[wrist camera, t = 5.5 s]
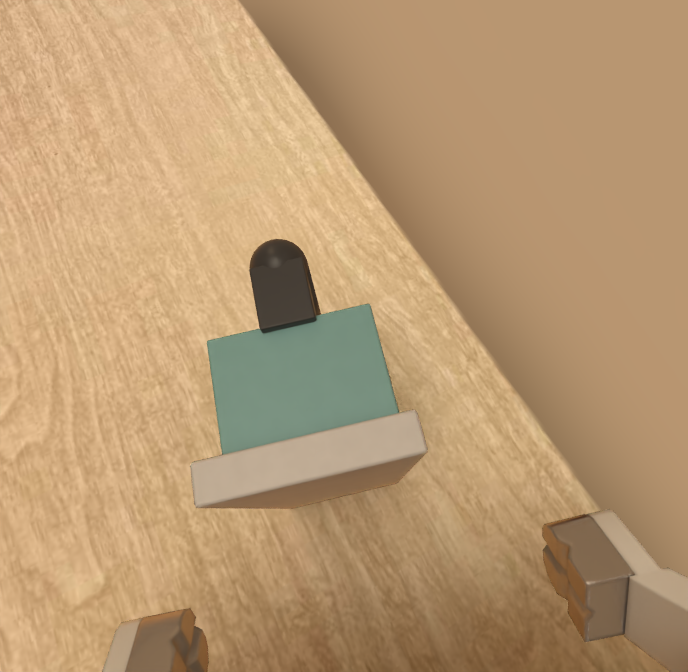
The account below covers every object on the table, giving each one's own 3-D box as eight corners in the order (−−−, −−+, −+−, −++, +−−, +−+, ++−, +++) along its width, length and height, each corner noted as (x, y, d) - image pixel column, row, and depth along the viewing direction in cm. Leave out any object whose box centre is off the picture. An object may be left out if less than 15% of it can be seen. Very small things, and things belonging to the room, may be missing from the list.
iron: (398, 483, 23) (429, 452, 11) (289, 509, 23) (193, 509, 10) (361, 336, 25) (351, 175, 13) (263, 359, 25) (160, 217, 13)
